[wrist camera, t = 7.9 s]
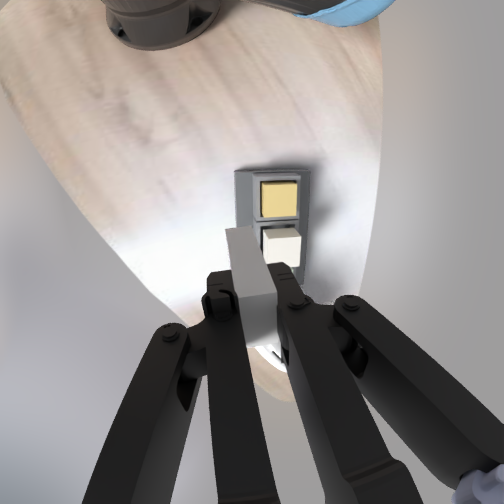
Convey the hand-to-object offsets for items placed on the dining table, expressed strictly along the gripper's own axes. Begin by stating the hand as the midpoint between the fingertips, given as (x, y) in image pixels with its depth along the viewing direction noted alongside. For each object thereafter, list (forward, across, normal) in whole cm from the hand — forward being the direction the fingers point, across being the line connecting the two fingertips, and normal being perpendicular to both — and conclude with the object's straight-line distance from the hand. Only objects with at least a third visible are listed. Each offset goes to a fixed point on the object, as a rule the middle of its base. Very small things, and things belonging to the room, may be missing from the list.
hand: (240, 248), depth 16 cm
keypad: (+21, +6, -8) cm, 24 cm away
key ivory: (+17, +6, -8) cm, 20 cm away
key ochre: (+19, +6, -3) cm, 20 cm away
